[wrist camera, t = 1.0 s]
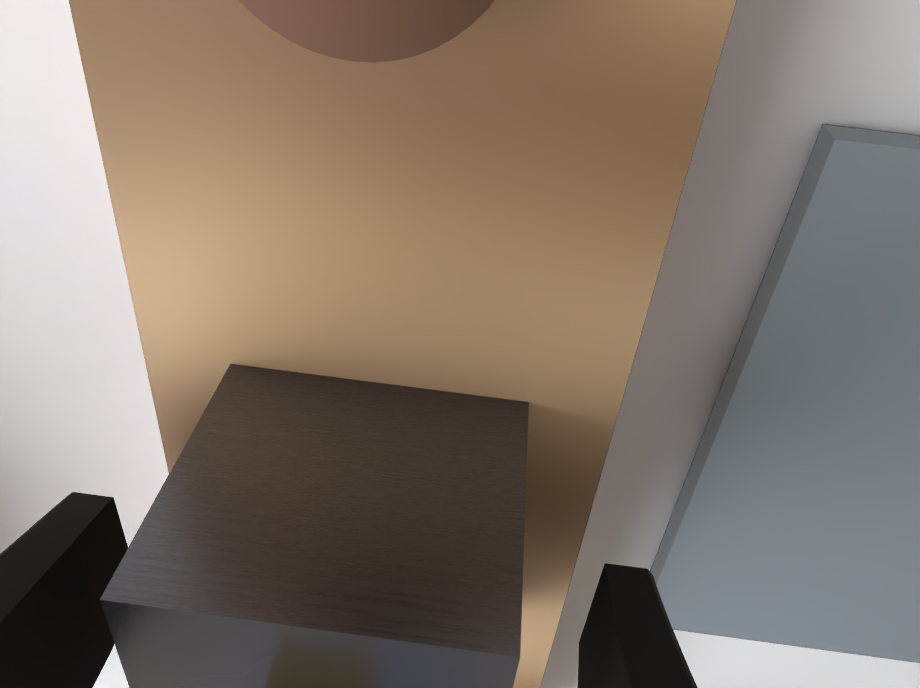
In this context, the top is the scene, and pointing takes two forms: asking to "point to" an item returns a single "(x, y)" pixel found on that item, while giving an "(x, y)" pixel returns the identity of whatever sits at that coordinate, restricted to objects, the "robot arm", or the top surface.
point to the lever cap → (331, 541)
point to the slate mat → (817, 427)
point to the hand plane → (406, 208)
